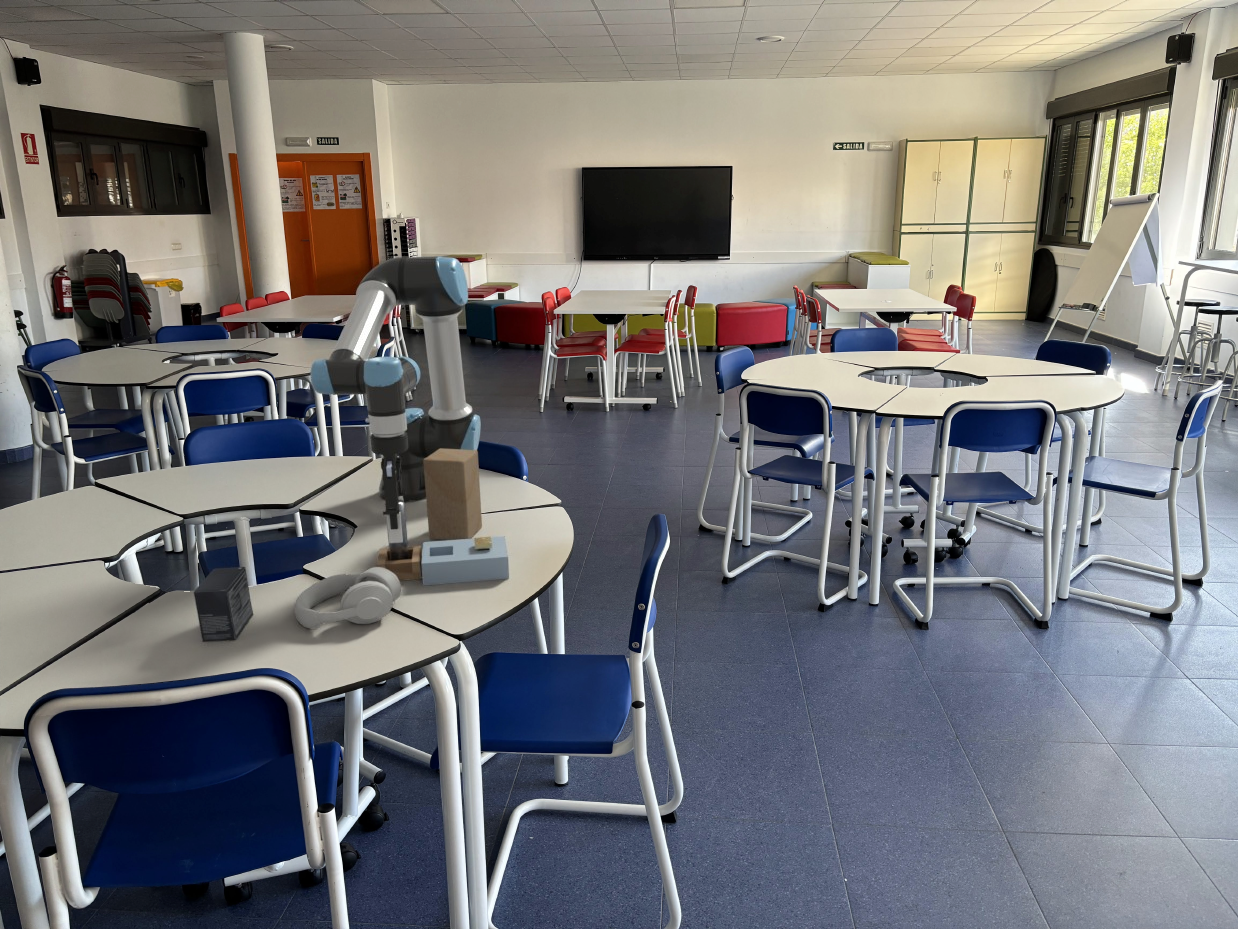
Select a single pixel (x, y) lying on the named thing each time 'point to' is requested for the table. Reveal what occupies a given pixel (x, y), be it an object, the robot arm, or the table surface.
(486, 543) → the small square tan block
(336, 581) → the headphones
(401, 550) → the cylinder
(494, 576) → the socket block
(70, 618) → the table surface
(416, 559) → the rack
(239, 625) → the small box
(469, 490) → the wooden block
